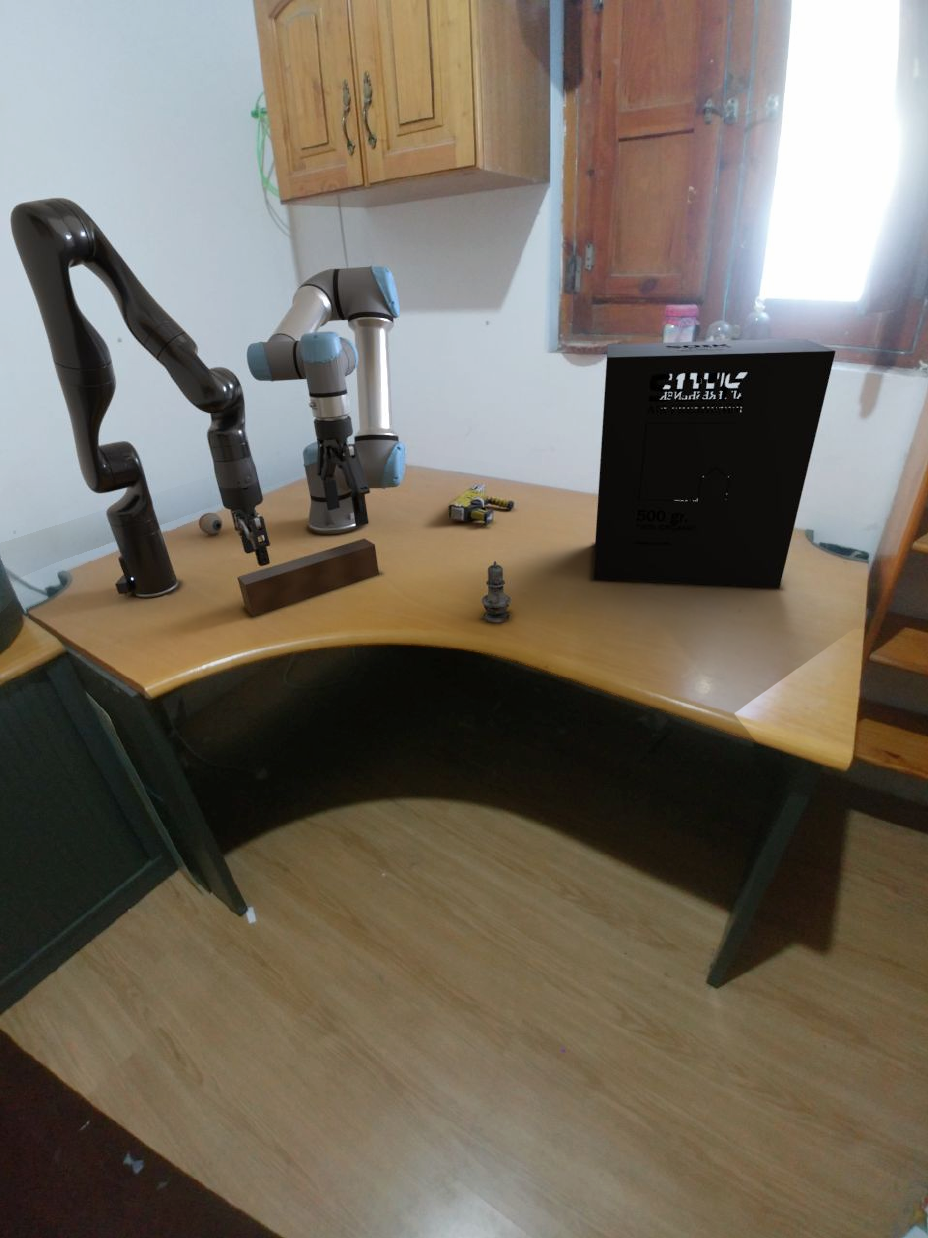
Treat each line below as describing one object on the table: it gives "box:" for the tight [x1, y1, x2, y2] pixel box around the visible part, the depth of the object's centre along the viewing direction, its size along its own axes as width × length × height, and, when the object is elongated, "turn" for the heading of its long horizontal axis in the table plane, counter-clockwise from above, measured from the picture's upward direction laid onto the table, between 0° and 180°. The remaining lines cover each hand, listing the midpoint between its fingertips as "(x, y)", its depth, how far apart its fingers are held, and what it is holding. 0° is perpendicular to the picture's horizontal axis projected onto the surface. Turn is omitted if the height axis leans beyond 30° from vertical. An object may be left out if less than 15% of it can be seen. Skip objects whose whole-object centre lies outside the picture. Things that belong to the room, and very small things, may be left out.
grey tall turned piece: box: [480, 560, 512, 623], centre depth 117 cm, size 6×6×12 cm
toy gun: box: [447, 482, 515, 525], centre depth 172 cm, size 5×24×15 cm
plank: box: [236, 538, 380, 618], centre depth 133 cm, size 30×5×8 cm, turn 126°
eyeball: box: [198, 512, 223, 536], centre depth 167 cm, size 6×6×6 cm
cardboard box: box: [592, 337, 836, 589], centre depth 125 cm, size 38×20×45 cm, turn 78°
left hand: (257, 558), depth 123 cm, fingers open, 8 cm apart
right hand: (347, 516), depth 132 cm, fingers open, 13 cm apart
